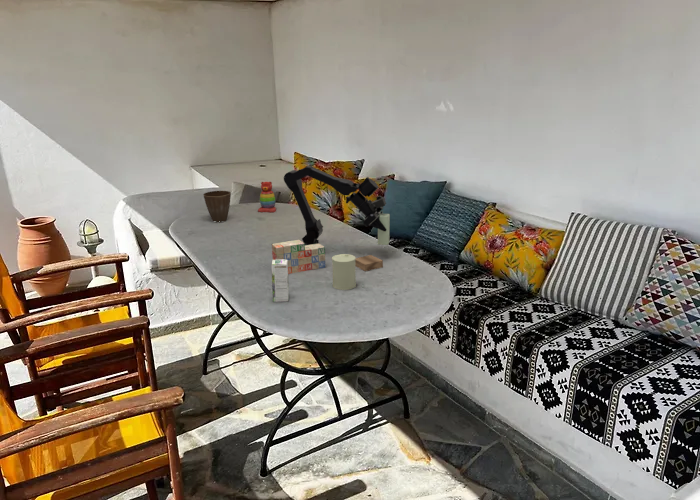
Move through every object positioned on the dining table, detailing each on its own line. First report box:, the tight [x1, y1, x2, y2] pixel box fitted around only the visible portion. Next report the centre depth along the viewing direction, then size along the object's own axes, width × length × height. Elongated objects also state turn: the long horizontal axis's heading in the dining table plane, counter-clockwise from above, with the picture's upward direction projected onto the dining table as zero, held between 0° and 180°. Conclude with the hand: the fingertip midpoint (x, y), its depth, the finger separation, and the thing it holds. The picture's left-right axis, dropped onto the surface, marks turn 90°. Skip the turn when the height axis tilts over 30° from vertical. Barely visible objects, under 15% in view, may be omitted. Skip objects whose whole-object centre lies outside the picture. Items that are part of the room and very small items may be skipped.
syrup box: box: [271, 259, 290, 303], centre depth 192 cm, size 6×6×14 cm
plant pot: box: [203, 190, 232, 223], centre depth 299 cm, size 15×15×16 cm
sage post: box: [377, 213, 391, 246], centre depth 232 cm, size 4×4×13 cm
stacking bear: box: [257, 181, 277, 213], centre depth 321 cm, size 11×10×18 cm
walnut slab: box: [355, 254, 384, 272], centre depth 226 cm, size 9×9×3 cm
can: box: [331, 253, 357, 291], centre depth 204 cm, size 9×9×12 cm
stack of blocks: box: [271, 239, 326, 275], centre depth 222 cm, size 21×6×12 cm, turn 115°
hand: (386, 229), depth 232 cm, fingers closed on sage post, 4 cm apart
